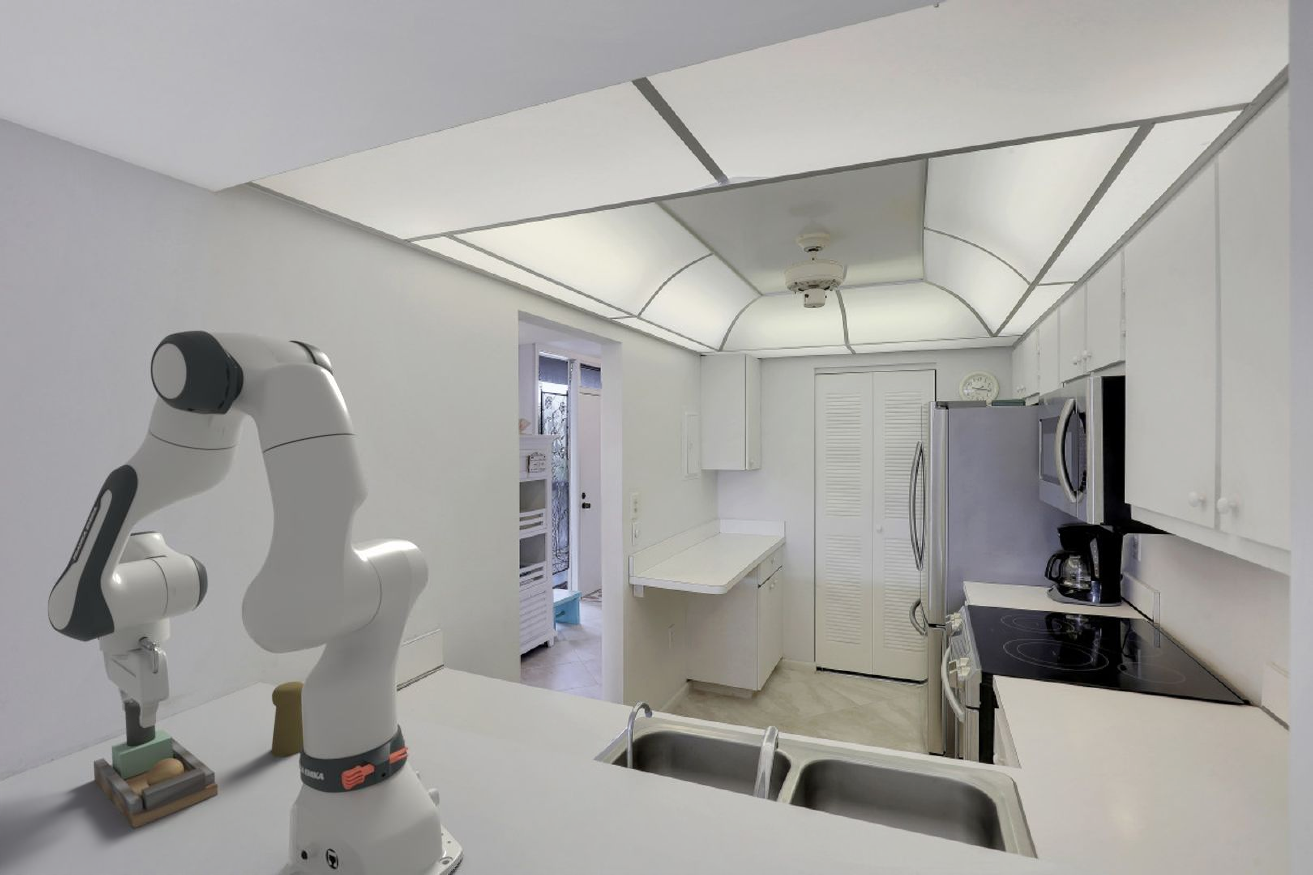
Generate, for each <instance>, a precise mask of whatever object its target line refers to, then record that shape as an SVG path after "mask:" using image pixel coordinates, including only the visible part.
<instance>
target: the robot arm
mask: <svg viewBox="0 0 1313 875" xmlns="http://www.w3.org/2000/svg"><path fill="white" fill-rule="evenodd" d="M150 360H151V362H150V377H151V378H150V379H151V382H152V386H153V387H154V388H153V389H154V390H155V392H156V394H157V397H156V400H155V403H154V405H153V408H152V411H151V415H150V420H149V424H148V429H147V433H146V435H145V438H144V440H143V442H142V443H141V444H140V446H139V448H138V450H137V451H136V452H135V453H134V454H133V456H132V457H130V459H129V460H127V461H126V462H125V463H124V464H123V465H121V466H119V467H117V468H115V469H113V470H112V471H111V472H110V473H109V474H108V476H107V477H106V479H105V481H104V482H103V484H102V486H101V488H100V490H99V492H98V494H97V496H96V499H95V501H94V503H93V505H92V507H91V510H90V512H89V515H88V517H87V519H86V520H85V521H86V522H85V524H84V526H83V529H82V531H81V533H80V535H79V538H78V541H77V543H76V544H75V547H74V549H73V551H72V554H71V557H70V558H69V561H68V563H67V565H66V567H65V569H64V570H63V572H62V573H61V574H60V577H59V578H58V579H57V581H56V582H55V583H54V586H52V589H51V591H50V593H49V596H48V602H47V614H48V615H47V616H48V620H49V623H50V625H51V627H52V628H53V630H54V631H56V632H57V633H59V634H62V635H63V636H65V637H68V638H71V639H74V640H77V641H79V642H85V643H86V642H90V641H92V640H95V639H97V640H98V641H99V650H100V651H101V652H102V653H103V661H104V668H105V673H106V675H107V678H108V680H110V681H111V682H112V683H113V684H114V685H115V686H117V687H118V692H119V696H120V699H121V709H122V711H124V712H125V706H126V705H128V704H130V703H132V702H135V701H137V702H138V703H139V706H140V707H141V712H140V715H139V724H140V725H141V726H142V727H143V728H147V727H150V726H153V725H155V726H156V724H157V711H158V708H159V706H160V705H159V704H160V702H161V703H162V702H164V701H166V700H168V699H169V697H170V695H171V680H170V670H169V660H168V657H167V656H168V655H167V653H166V652H165V650H163V649H162V643H164V642H165V641H168V640H169V639H170V637H171V622H170V620H171V619H170V618H174V617H178V616H181V615H184V614H187V613H190V612H192V611H194V610H196V609H197V608H198V607H199V606H200V605H201V604H202V602H203V600H204V599H205V596H206V594H207V593H208V587H209V586H208V585H209V583H208V582H209V580H208V579H209V578H208V574H207V570H206V567H205V565H204V564H203V563H201V561H199V560H198V559H196V558H195V557H194V556H191V555H189V554H182V553H179V552H177V551H175V550H174V549H172V548H170V547H169V546H168V545H167V544H166V541H165V539H164V536H163V535H162V533H160V532H158V531H153V530H152V531H151V530H150V531H139V532H138V531H137V532H133V530H134V529H135V528H136V526H137V525H139V523H140V522H141V521H143V520H144V519H146V518H147V517H148V516H150V515H152V514H154V513H155V512H157V511H160V510H161V509H165V507H169V506H170V505H173V504H176V503H177V502H180V501H183V500H185V499H188V498H192V497H194V496H197V495H199V494H203V493H205V492H207V491H209V490H211V489H213V488H214V487H216V486H217V485H219V484H220V483H221V482H223V480H224V481H225V479H226V478H227V477H228V476H229V474H230V472H231V470H232V469H233V467H234V465H235V463H236V460H237V457H238V453H239V448H240V444H241V440H242V435H243V430H244V424H245V419H246V416H250V417H251V418H252V419H253V421H254V422H255V425H256V429H257V433H258V441H259V445H260V449H261V453H262V454H261V455H262V458H263V463H264V468H265V472H266V476H267V481H268V486H269V491H270V496H271V501H272V502H271V503H272V508H273V530H272V536H271V540H270V545H269V549H268V553H267V556H266V558H265V561H264V563H263V565H262V566H261V568H260V570H259V572H257V574H256V576H255V577H254V578H253V579H252V580H251V582H250V583H249V584H248V586H247V588H246V590H245V591H244V596H243V598H242V602H241V603H242V605H241V619H242V622H243V626H244V629H245V631H246V633H247V635H248V636H249V638H250V639H251V640H252V641H253V642H254V643H255V644H256V645H257V646H258V647H259V648H260V649H263V650H264V651H266V652H269V653H273V654H286V653H293V652H299V651H305V650H310V649H314V648H318V647H321V646H323V645H325V647H324V650H323V651H322V654H321V655H320V658H319V660H318V661H317V663H316V664H315V666H314V667H313V668H312V669H311V671H310V672H309V673H308V675H307V677H306V678H305V680H304V682H303V684H304V685H303V688H302V694H301V700H302V721H303V746H302V747H301V750H300V752H299V760H298V768H299V771H300V776H299V777H300V780H301V782H302V784H301V788H300V790H299V793H298V796H297V797H296V799H295V801H294V803H293V804H292V807H291V808H290V812H289V831H288V832H289V835H288V863H287V865H286V866H284V868H283V869H282V870H281V871H280V872H279V873H278V875H447V874H449V873H450V872H451V871H452V870H453V869H454V870H455V869H456V868H457V867H456V866H458V865H459V864H460V863H459V862H461V861H462V859H463V857H464V851H463V847H462V846H461V845H460V843H459V842H458V841H457V840H456V839H455V838H454V836H452V835H451V833H449V831H448V830H447V829H446V828H445V827H444V826H443V825H442V824H441V819H440V818H441V817H440V813H439V810H438V808H437V807H438V806H439V805H440V794H439V792H438V790H437V788H435V787H431V788H429V789H427V790H426V788H425V787H424V785H423V783H422V782H421V774H420V772H419V771H418V770H415V771H414V770H413V768H412V767H411V765H410V763H409V761H407V760H408V756H409V754H408V752H407V751H408V750H409V747H408V746H406V745H405V744H406V739H405V737H404V735H403V732H402V729H401V726H400V724H399V723H398V701H397V700H398V699H397V698H398V690H397V689H398V687H397V681H398V680H397V679H398V668H399V667H398V666H399V659H400V654H401V649H402V646H403V640H404V637H405V633H406V629H407V625H408V622H409V619H410V617H411V614H412V612H413V609H414V607H415V605H416V603H417V602H418V600H419V598H420V597H421V596H422V594H423V593H424V591H425V589H426V587H427V584H428V579H429V567H428V563H427V559H426V557H425V555H424V553H423V552H422V550H421V549H420V548H419V547H418V546H417V545H416V544H414V543H413V542H411V541H409V540H406V539H401V538H399V539H397V538H372V539H368V540H364V541H360V542H355V543H353V525H354V521H355V520H354V519H355V516H356V513H357V511H358V509H359V508H360V507H361V506H362V505H364V502H365V501H366V499H367V497H368V493H369V484H368V480H367V477H366V471H365V467H364V464H363V463H364V462H363V460H362V456H361V452H360V446H359V443H358V440H357V435H356V432H355V429H354V425H353V421H352V417H351V414H350V413H349V409H348V407H347V404H346V402H345V401H346V400H345V399H344V397H343V394H342V393H341V390H340V388H339V386H338V384H337V382H336V380H335V378H334V372H333V368H332V367H333V366H332V364H331V362H330V359H329V358H328V356H327V355H326V354H325V353H324V352H323V350H321V349H320V348H318V347H317V346H314V345H311V344H309V343H305V342H302V341H298V340H285V339H280V338H274V337H270V336H269V337H268V336H259V335H256V334H253V333H241V332H207V331H205V330H190V331H188V330H186V331H181V332H180V331H178V332H175V333H171V334H169V335H166V336H165V337H164V338H163V339H162V340H161V341H160V342H159V343H158V345H157V346H156V348H155V349H154V351H153V354H152V357H151V359H150ZM132 532H133V533H132ZM460 860H461V861H460ZM458 863H459V864H458ZM457 864H458V865H457ZM455 867H456V868H455ZM454 870H453V871H454ZM453 871H452V872H453ZM452 872H451V873H452ZM451 873H450V874H451ZM450 874H449V875H450Z"/></svg>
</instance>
